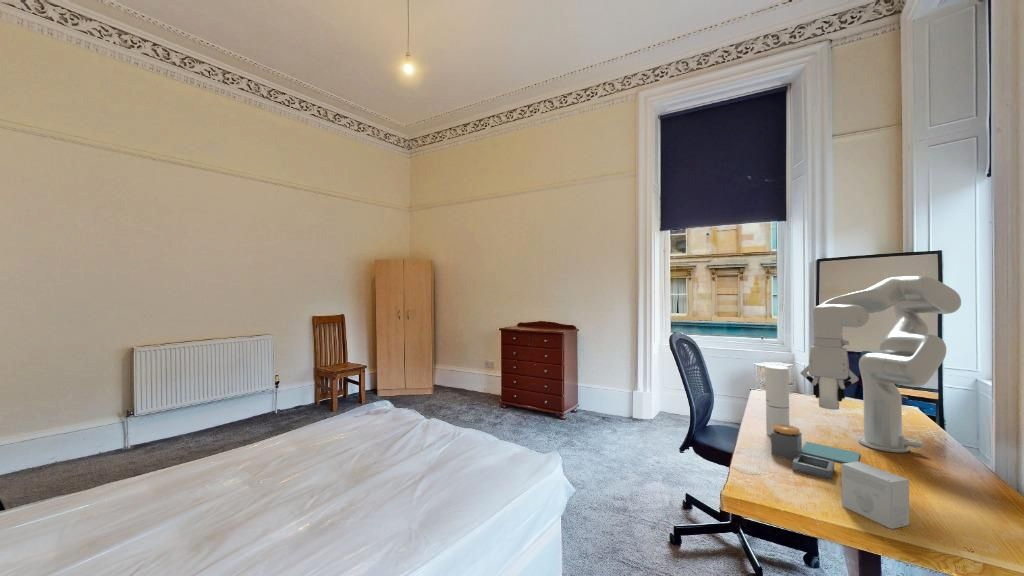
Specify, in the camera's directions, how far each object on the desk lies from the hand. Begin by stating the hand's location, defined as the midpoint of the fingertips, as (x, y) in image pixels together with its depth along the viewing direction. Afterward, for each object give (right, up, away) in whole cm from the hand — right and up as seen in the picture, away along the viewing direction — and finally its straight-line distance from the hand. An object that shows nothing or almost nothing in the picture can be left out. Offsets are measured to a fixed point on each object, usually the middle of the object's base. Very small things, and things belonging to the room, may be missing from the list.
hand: (828, 398), depth 128 cm
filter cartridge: (0, -3, 0) cm, 3 cm away
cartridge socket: (-14, -18, -12) cm, 26 cm away
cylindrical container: (-5, -19, +17) cm, 26 cm away
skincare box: (-17, -18, -35) cm, 43 cm away
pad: (0, -18, 0) cm, 18 cm away
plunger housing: (-14, -18, 0) cm, 23 cm away
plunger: (-14, -15, 0) cm, 20 cm away
